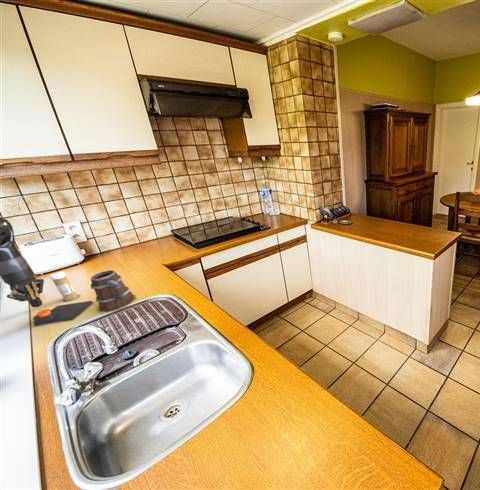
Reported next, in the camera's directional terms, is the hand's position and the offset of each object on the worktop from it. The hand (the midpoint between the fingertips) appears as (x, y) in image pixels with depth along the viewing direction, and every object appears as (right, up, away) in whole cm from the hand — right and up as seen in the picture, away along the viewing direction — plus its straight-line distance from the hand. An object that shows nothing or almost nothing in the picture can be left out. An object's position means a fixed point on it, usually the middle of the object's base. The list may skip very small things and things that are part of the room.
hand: (38, 306), depth 108 cm
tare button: (0, -4, +2) cm, 5 cm away
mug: (+23, -2, +12) cm, 26 cm away
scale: (+3, -5, +7) cm, 9 cm away
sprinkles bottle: (-7, -1, +18) cm, 19 cm away
